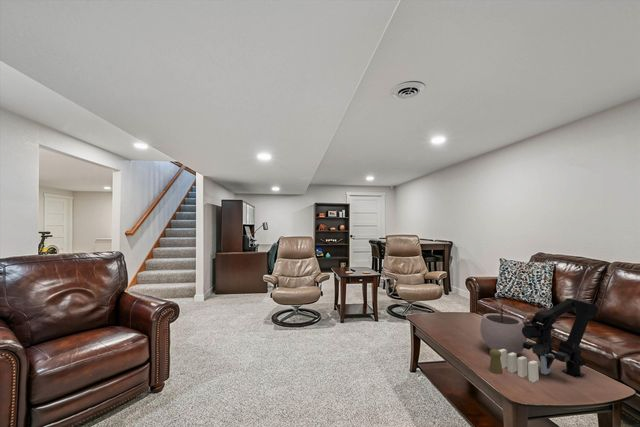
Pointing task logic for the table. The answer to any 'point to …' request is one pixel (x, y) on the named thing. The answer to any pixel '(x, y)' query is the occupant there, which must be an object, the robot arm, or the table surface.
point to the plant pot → (502, 332)
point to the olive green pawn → (495, 361)
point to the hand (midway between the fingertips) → (545, 367)
